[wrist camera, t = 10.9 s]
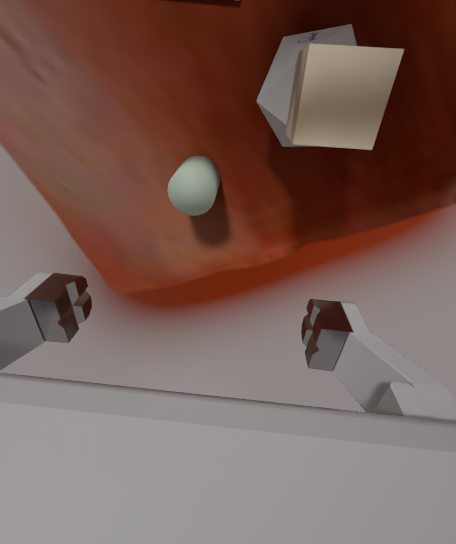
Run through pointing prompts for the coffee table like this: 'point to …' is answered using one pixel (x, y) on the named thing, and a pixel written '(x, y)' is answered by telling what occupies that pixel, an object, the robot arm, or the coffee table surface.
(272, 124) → the die
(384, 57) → the birch block
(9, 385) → the robot arm
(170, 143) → the coffee table surface
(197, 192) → the pale green rounded lump
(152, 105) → the coffee table surface
